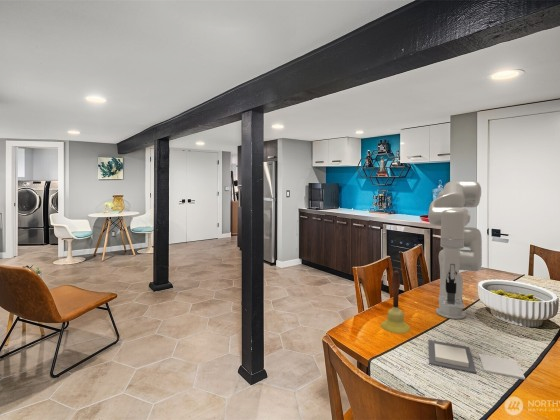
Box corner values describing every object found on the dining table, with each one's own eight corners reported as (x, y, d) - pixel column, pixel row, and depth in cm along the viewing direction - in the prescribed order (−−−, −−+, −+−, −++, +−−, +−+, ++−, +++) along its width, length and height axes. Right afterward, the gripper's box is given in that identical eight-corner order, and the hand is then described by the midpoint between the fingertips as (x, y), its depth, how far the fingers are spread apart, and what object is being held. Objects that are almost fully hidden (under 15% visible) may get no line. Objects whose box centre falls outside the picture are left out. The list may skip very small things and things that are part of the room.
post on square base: (438, 297, 122) (438, 273, 121) (461, 300, 119) (462, 274, 118) (439, 305, 115) (439, 278, 114) (464, 308, 112) (464, 281, 111)
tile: (434, 343, 118) (435, 356, 109) (465, 348, 114) (468, 363, 105) (434, 347, 118) (435, 361, 109) (465, 353, 114) (468, 367, 105)
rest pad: (478, 355, 114) (478, 353, 114) (515, 361, 109) (515, 360, 109) (484, 371, 104) (484, 369, 104) (525, 379, 99) (525, 377, 99)
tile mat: (428, 340, 125) (428, 339, 125) (469, 348, 119) (469, 346, 119) (429, 364, 108) (429, 362, 108) (476, 373, 102) (476, 372, 102)
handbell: (381, 331, 133) (381, 274, 131) (380, 319, 145) (380, 266, 143) (412, 335, 130) (413, 276, 128) (408, 322, 142) (409, 268, 140)
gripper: (439, 238, 124) (438, 284, 125) (441, 246, 109) (440, 297, 111) (461, 239, 121) (459, 286, 122) (466, 247, 106) (464, 300, 108)
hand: (450, 291), depth 117 cm, fingers closed on post on square base, 2 cm apart
